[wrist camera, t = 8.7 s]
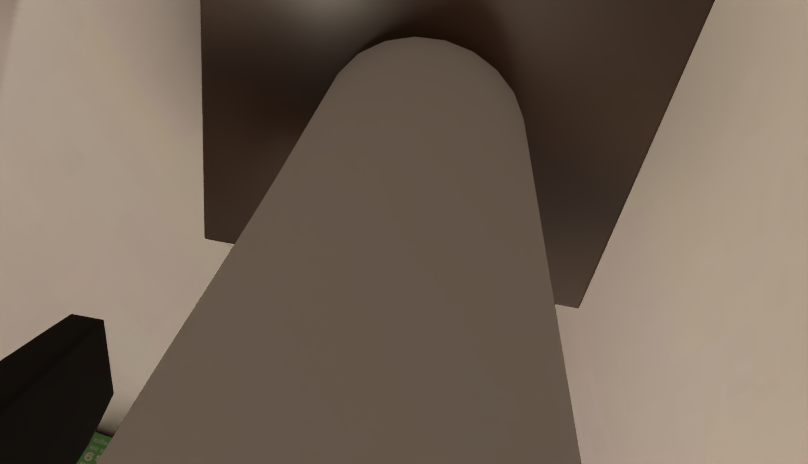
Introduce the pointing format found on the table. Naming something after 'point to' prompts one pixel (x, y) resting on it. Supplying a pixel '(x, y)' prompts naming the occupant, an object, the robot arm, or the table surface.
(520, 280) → the beverage can
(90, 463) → the ink box
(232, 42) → the cabinet
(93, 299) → the table surface
